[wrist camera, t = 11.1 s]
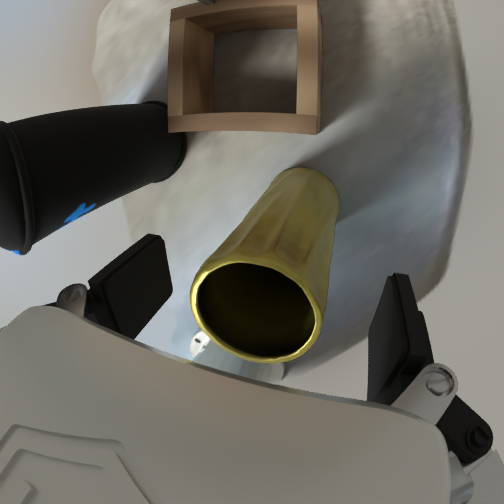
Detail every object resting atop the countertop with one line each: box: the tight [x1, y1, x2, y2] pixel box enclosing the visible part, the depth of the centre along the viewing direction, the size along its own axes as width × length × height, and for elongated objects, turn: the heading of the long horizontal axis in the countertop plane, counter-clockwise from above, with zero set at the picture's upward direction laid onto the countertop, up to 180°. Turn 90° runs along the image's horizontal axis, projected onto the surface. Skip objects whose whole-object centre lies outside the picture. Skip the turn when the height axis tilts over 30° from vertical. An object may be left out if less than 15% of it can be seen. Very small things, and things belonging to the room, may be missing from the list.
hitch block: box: [168, 0, 322, 135], centre depth 13 cm, size 18×10×7 cm, turn 179°
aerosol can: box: [0, 101, 186, 255], centre depth 15 cm, size 8×8×20 cm
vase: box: [190, 168, 340, 363], centre depth 16 cm, size 6×6×14 cm
